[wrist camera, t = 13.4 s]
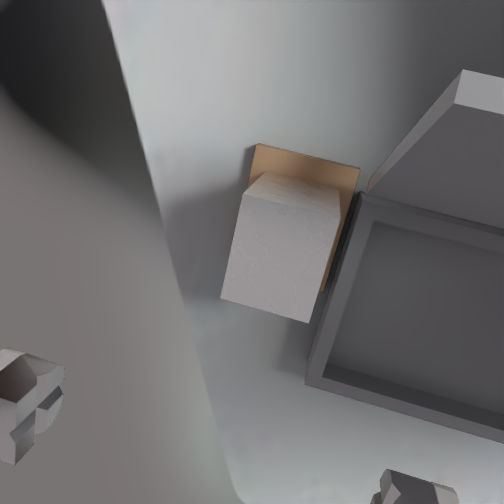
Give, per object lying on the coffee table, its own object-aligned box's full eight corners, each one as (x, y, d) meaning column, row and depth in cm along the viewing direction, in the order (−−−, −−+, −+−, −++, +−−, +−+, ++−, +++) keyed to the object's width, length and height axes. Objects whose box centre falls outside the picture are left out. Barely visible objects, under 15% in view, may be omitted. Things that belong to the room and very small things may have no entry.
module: (339, 189, 29) (340, 218, 21) (314, 272, 31) (308, 325, 23) (266, 170, 29) (242, 193, 22) (247, 254, 31) (219, 300, 24)
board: (359, 168, 29) (360, 170, 28) (323, 287, 32) (322, 292, 31) (258, 143, 30) (256, 144, 29) (232, 262, 33) (229, 266, 32)
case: (620, 257, 28) (652, 274, 25) (526, 425, 33) (544, 455, 30) (360, 191, 30) (362, 200, 27) (307, 361, 34) (304, 384, 32)
